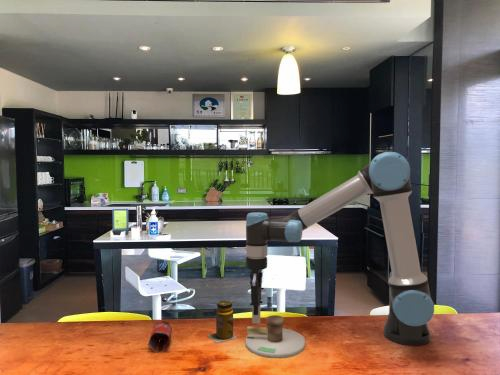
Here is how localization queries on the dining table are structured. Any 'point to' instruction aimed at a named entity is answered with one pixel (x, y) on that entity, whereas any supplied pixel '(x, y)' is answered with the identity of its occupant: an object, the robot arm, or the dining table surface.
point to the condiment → (223, 323)
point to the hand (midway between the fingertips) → (256, 322)
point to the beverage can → (160, 335)
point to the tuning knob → (269, 328)
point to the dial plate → (276, 344)
